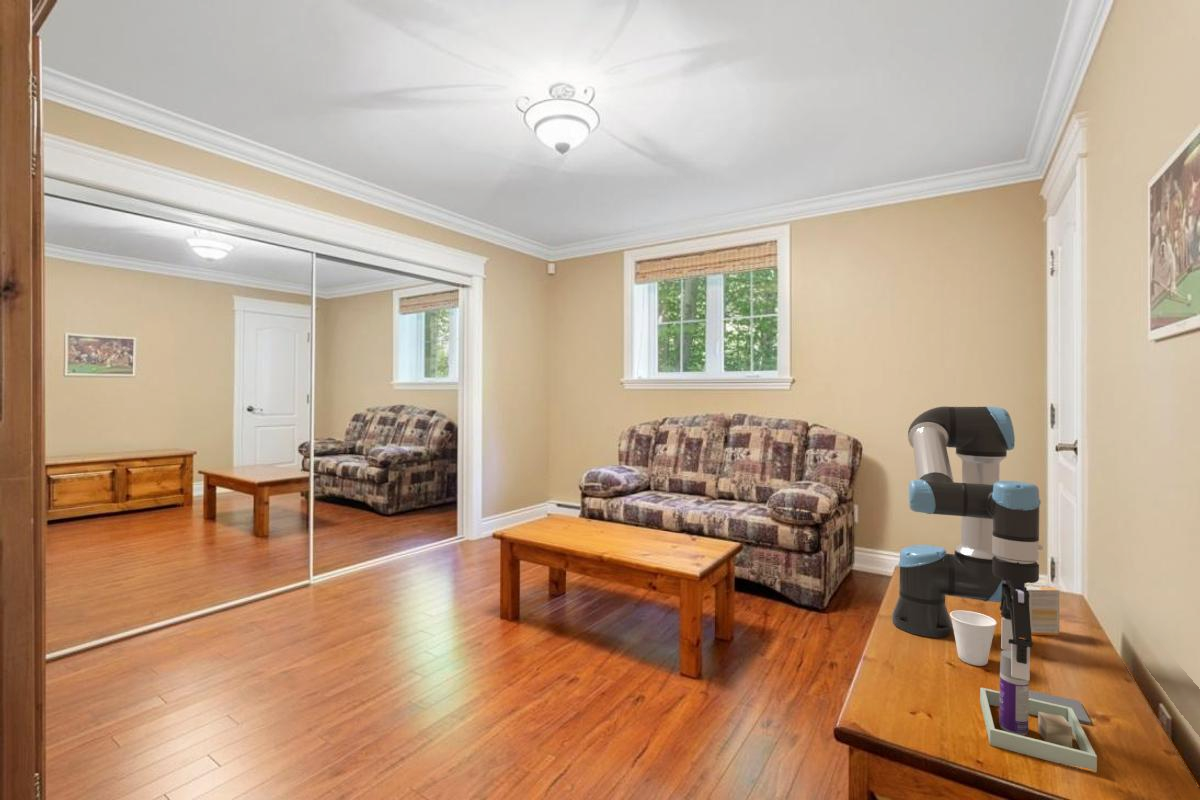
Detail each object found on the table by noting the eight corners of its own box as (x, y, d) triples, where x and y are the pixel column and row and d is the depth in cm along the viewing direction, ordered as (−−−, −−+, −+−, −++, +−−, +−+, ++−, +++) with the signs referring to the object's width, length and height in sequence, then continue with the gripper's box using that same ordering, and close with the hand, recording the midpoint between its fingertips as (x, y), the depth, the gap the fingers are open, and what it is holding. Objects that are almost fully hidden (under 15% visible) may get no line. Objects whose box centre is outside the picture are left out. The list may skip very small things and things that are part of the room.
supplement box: (1047, 629, 157) (1048, 584, 157) (1060, 636, 152) (1060, 590, 152) (1017, 627, 158) (1017, 583, 158) (1028, 635, 153) (1029, 589, 153)
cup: (988, 654, 141) (988, 613, 141) (1002, 673, 132) (1003, 628, 132) (944, 649, 144) (945, 608, 144) (955, 666, 135) (956, 622, 135)
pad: (1035, 712, 116) (1035, 709, 116) (1027, 692, 123) (1027, 689, 123) (1091, 725, 111) (1091, 722, 111) (1079, 703, 119) (1079, 700, 119)
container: (993, 722, 112) (994, 650, 112) (1014, 721, 112) (1015, 649, 112) (1012, 736, 107) (1013, 661, 107) (1034, 735, 108) (1035, 660, 108)
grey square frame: (990, 745, 105) (990, 729, 105) (980, 700, 120) (980, 687, 120) (1096, 773, 97) (1096, 756, 97) (1071, 722, 112) (1071, 707, 112)
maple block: (1046, 743, 105) (1046, 722, 105) (1038, 731, 109) (1038, 711, 109) (1072, 747, 104) (1072, 727, 104) (1062, 735, 108) (1062, 715, 108)
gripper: (1052, 578, 97) (1052, 697, 97) (1027, 547, 118) (1026, 644, 118) (1001, 571, 101) (1000, 685, 101) (985, 542, 122) (984, 636, 122)
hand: (1014, 663), depth 109 cm, fingers open, 13 cm apart
